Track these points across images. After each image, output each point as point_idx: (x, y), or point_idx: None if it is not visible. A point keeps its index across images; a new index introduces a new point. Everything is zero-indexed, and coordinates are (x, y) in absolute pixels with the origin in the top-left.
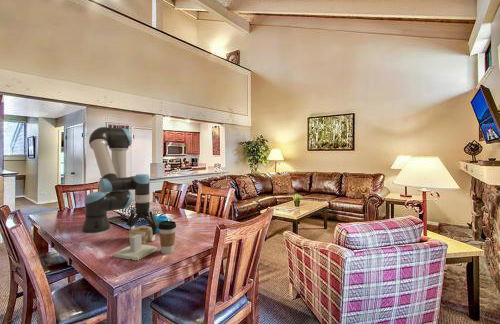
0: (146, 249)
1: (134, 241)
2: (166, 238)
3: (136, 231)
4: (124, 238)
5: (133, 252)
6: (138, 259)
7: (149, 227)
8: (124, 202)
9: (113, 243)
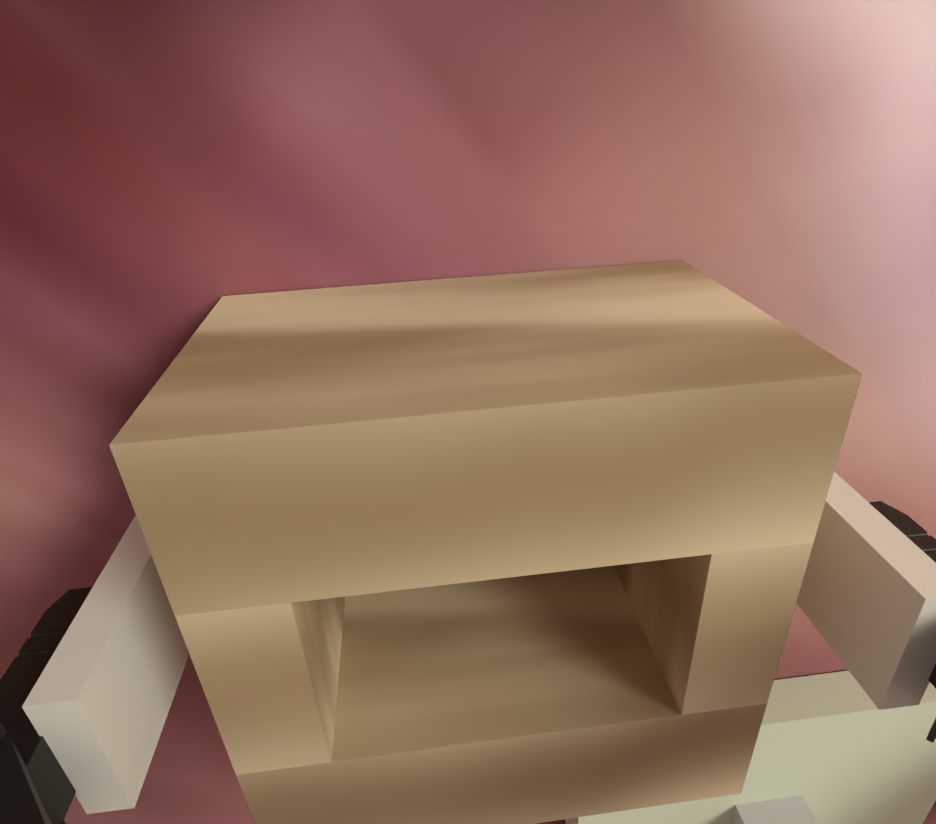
0: (880, 787)
1: None
2: None
3: (506, 822)
4: (56, 575)
5: None
6: None
7: (631, 491)
8: None
9: (158, 764)
